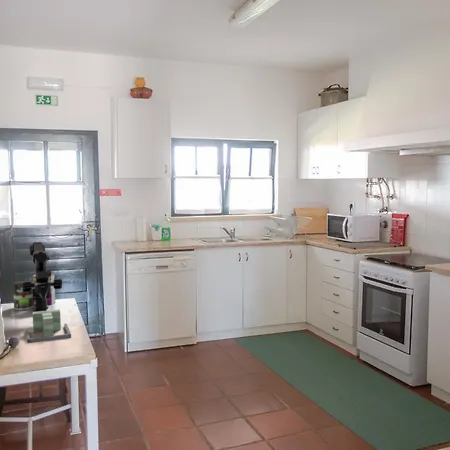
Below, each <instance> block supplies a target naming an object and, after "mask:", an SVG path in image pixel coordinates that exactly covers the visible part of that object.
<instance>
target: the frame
mask: <svg viewBox="0 0 450 450" xmlns="http://www.w3.org/2000/svg"><path fill="white" fill-rule="evenodd" d="M68 326H69V325H68V323H63V328H64V330H65V332H66V333H65V334H57V335H54V336H48V337H44V336H42V337H35V338H31V336H30V328H29V327H28V328H25V336H26V343H27V344H32V343H41V342H48V341H56V340H62V339H63V340H64V339H69V338H72V333H71V331H70V328H69V327H68Z"/></svg>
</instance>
